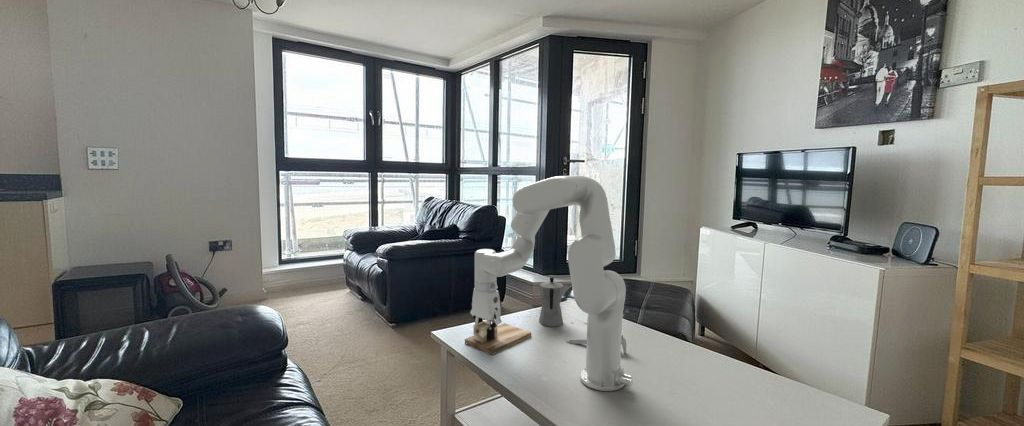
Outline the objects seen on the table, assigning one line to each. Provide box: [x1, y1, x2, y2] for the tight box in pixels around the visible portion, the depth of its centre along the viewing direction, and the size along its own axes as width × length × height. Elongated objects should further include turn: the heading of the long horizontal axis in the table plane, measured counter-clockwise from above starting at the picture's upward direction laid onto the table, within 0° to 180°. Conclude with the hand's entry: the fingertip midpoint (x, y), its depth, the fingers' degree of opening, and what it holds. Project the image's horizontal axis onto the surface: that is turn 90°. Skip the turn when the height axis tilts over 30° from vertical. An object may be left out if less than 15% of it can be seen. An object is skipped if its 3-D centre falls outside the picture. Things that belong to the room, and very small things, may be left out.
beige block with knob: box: [473, 319, 498, 343], centre depth 145 cm, size 4×9×5 cm, turn 138°
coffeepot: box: [538, 276, 565, 327], centre depth 162 cm, size 15×9×18 cm, turn 175°
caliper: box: [565, 334, 627, 355], centre depth 141 cm, size 20×1×6 cm, turn 64°
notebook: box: [464, 322, 532, 356], centre depth 147 cm, size 13×20×2 cm, turn 138°
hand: (485, 336), depth 145 cm, fingers closed on beige block with knob, 4 cm apart
